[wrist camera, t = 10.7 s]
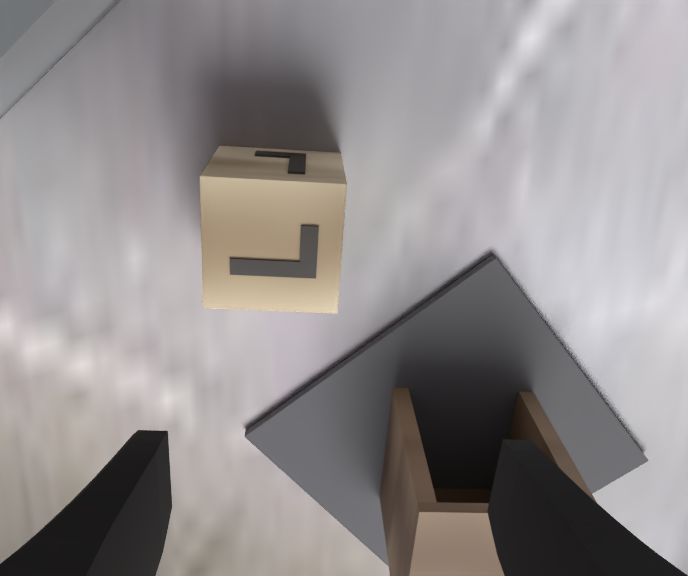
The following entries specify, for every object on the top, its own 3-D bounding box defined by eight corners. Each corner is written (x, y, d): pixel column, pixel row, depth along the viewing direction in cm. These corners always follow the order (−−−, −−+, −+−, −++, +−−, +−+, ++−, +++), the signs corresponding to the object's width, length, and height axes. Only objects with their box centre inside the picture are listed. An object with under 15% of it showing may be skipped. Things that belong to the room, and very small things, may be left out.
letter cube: (333, 262, 22) (337, 314, 19) (221, 257, 22) (202, 308, 18) (341, 150, 21) (347, 182, 17) (220, 143, 20) (198, 174, 17)
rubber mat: (418, 587, 29) (419, 594, 29) (245, 430, 25) (244, 436, 25) (644, 454, 27) (648, 460, 26) (493, 253, 22) (496, 258, 22)
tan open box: (508, 500, 27) (563, 640, 21) (379, 498, 26) (399, 640, 21) (533, 391, 25) (603, 515, 19) (392, 387, 24) (419, 511, 18)
